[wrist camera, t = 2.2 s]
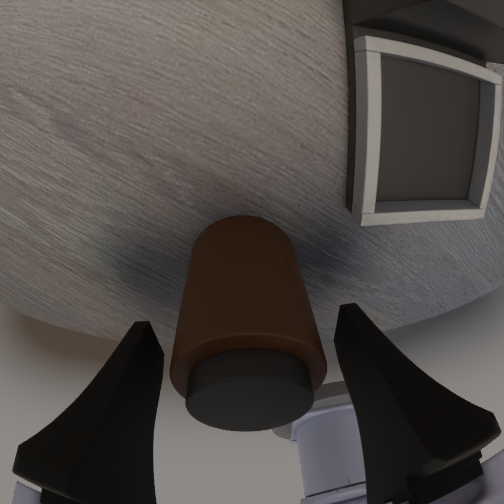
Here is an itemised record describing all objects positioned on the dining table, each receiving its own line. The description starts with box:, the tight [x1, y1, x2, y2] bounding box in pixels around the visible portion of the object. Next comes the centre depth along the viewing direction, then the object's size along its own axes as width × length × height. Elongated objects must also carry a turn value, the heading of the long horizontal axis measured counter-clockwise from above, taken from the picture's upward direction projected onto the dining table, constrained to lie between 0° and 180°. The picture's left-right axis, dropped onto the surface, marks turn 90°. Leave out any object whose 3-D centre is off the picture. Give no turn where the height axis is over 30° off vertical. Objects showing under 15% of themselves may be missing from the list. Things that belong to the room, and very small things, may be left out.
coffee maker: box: [343, 0, 504, 226], centre depth 7 cm, size 11×8×6 cm
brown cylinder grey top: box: [170, 216, 327, 431], centre depth 11 cm, size 5×5×8 cm
